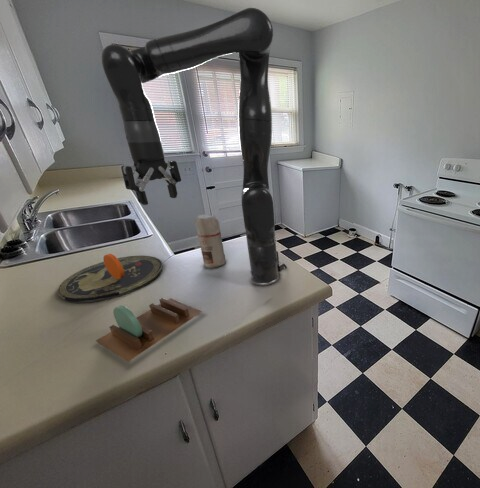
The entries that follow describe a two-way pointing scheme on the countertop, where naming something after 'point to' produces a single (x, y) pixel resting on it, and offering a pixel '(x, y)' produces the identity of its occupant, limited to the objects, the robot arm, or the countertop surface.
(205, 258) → the spray can
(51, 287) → the countertop surface
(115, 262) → the orange disc
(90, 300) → the decorative plate
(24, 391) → the countertop surface
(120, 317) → the green disc
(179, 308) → the rack
